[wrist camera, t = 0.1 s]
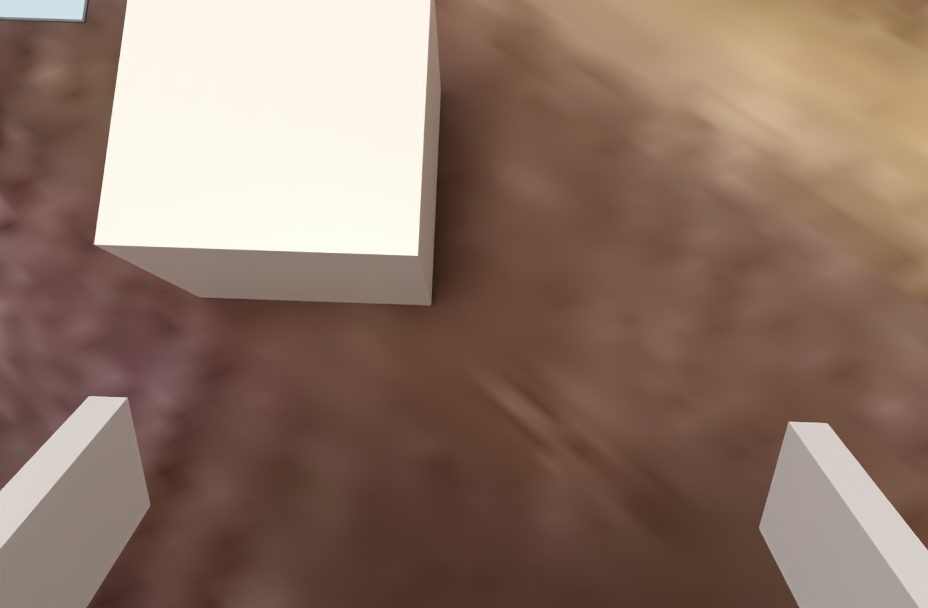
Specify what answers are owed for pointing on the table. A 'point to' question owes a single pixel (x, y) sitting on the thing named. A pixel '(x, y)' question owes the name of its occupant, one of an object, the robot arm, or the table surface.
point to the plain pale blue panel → (43, 10)
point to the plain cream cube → (277, 148)
